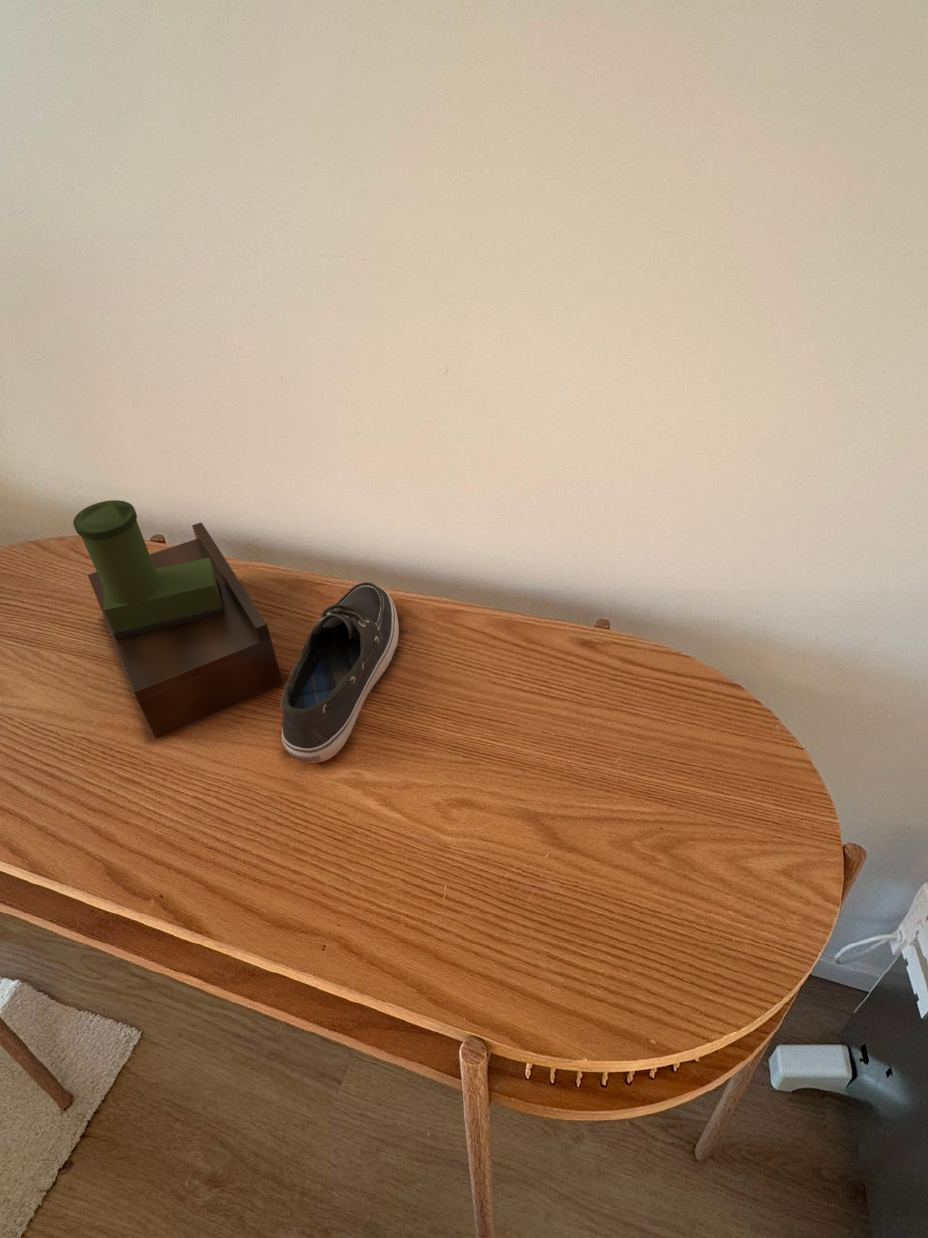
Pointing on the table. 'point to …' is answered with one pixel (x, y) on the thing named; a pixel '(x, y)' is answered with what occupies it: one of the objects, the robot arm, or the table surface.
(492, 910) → the table surface
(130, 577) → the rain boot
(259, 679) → the shoe bench
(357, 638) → the boat shoe
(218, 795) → the table surface
